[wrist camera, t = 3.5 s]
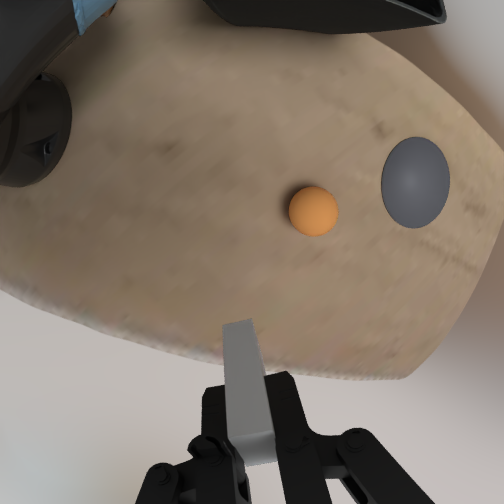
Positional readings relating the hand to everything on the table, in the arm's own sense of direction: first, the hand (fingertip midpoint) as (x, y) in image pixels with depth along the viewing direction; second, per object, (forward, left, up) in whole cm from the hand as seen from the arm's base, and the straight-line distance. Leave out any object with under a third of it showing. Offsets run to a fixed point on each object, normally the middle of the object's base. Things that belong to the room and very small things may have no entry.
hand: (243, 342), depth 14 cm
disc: (+26, 0, -21) cm, 33 cm away
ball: (+9, 0, -18) cm, 20 cm away
